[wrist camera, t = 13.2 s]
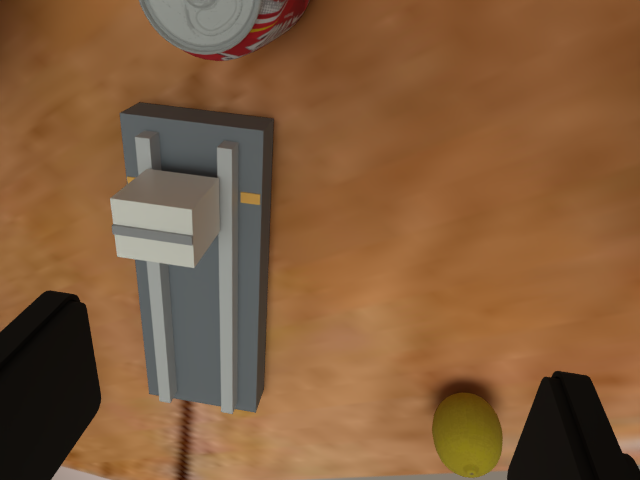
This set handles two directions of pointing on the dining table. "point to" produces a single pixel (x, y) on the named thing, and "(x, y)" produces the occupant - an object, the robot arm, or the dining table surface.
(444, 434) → the lemon
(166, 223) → the fader cap
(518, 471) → the robot arm
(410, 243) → the dining table surface
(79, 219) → the dining table surface
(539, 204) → the dining table surface
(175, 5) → the soda can
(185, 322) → the slider panel
